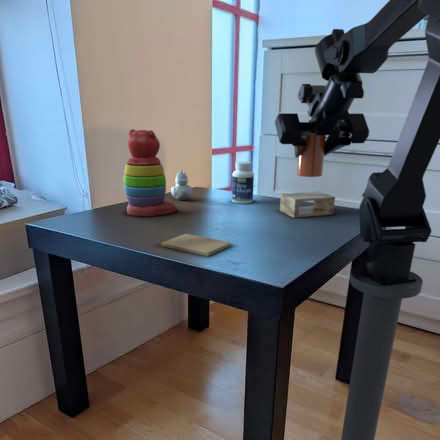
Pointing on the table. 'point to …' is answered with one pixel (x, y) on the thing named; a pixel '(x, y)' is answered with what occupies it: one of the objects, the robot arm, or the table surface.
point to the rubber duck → (181, 187)
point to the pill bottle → (242, 183)
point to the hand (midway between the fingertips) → (308, 155)
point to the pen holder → (312, 157)
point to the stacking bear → (145, 176)
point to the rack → (320, 206)
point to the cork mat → (196, 244)
